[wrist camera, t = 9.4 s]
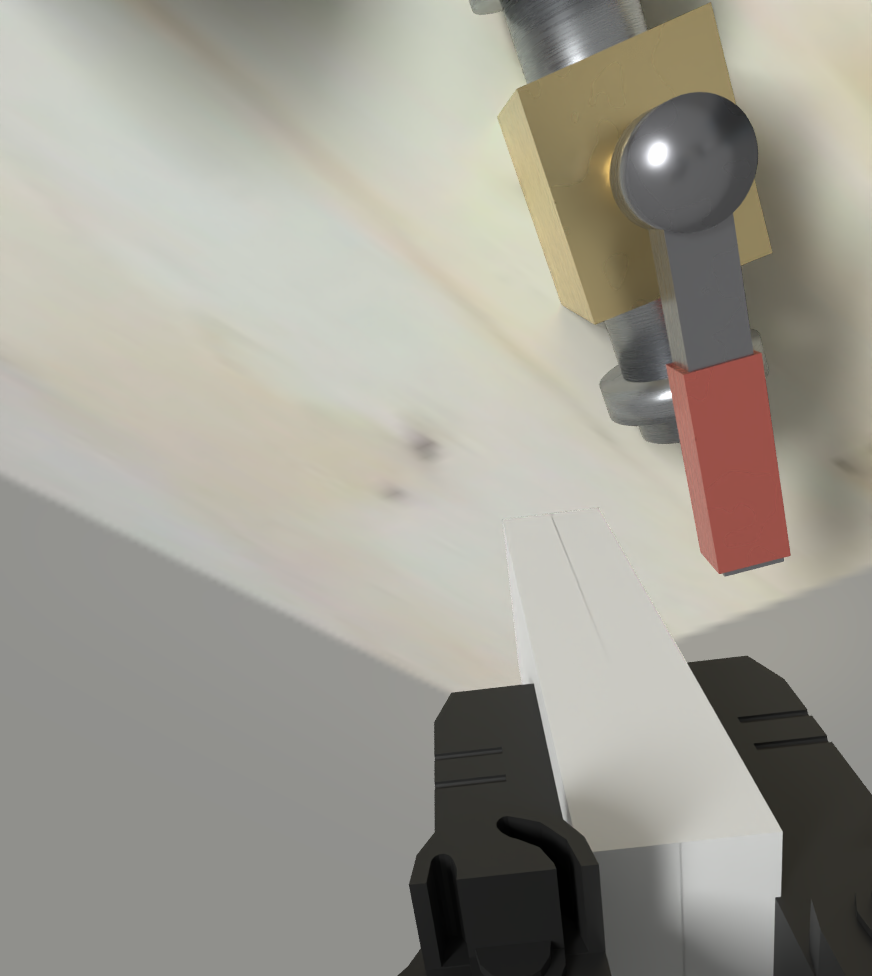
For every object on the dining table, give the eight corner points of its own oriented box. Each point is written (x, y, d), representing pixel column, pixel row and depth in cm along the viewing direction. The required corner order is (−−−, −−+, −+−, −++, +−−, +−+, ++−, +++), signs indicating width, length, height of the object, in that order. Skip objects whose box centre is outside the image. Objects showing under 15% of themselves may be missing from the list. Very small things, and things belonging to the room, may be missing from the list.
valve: (441, -46, 29) (448, -151, 21) (602, -122, 28) (674, -262, 20) (603, 428, 35) (658, 490, 27) (738, 375, 34) (836, 423, 26)
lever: (598, 124, 23) (616, 115, 21) (717, 88, 22) (747, 74, 20) (683, 559, 27) (704, 586, 25) (782, 533, 27) (812, 558, 25)
